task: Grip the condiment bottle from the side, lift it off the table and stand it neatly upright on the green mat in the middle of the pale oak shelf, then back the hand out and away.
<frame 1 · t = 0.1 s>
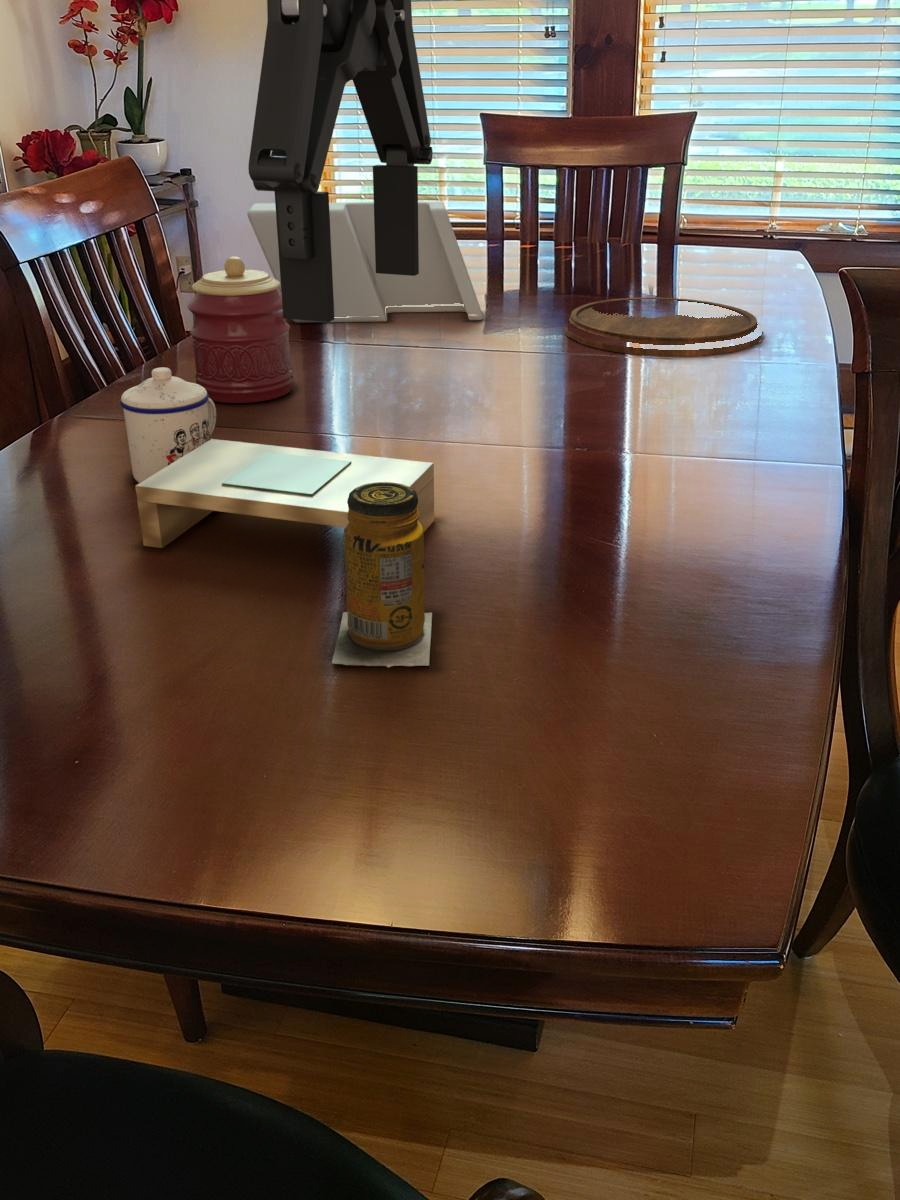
hand: (357, 295, 64), 28 cm above the table, tool pointing down, fingers open, 13 cm apart
condiment: (384, 642, 84), on the table
oak shelf: (292, 532, 103), on the table
bracket: (370, 317, 187), on the table
kitchen canister: (246, 392, 146), on the table
cutting board: (661, 333, 176), on the table
teacup with lid: (183, 472, 119), on the table
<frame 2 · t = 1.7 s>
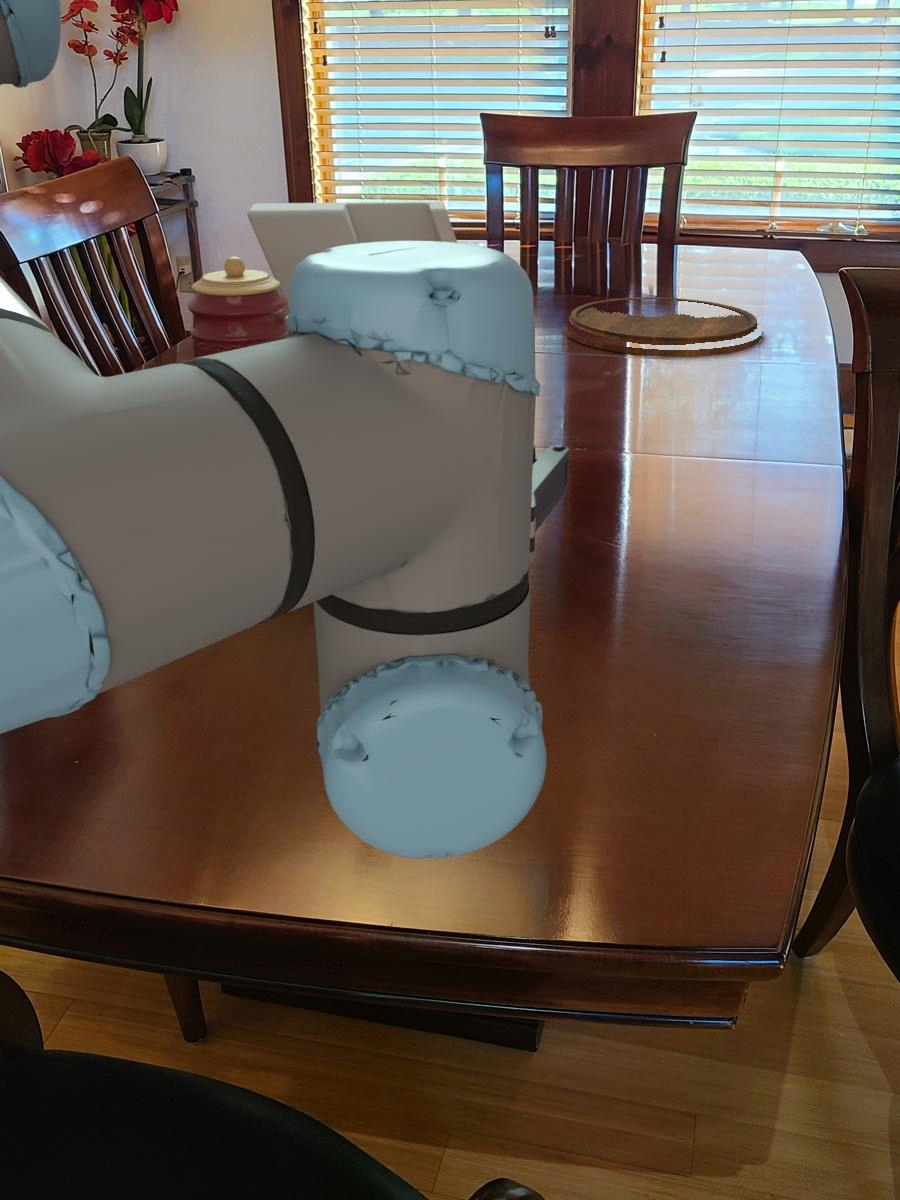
hand: (381, 432, 67), 20 cm above the table, tool horizontal, fingers open, 13 cm apart
nothing on the table moved.
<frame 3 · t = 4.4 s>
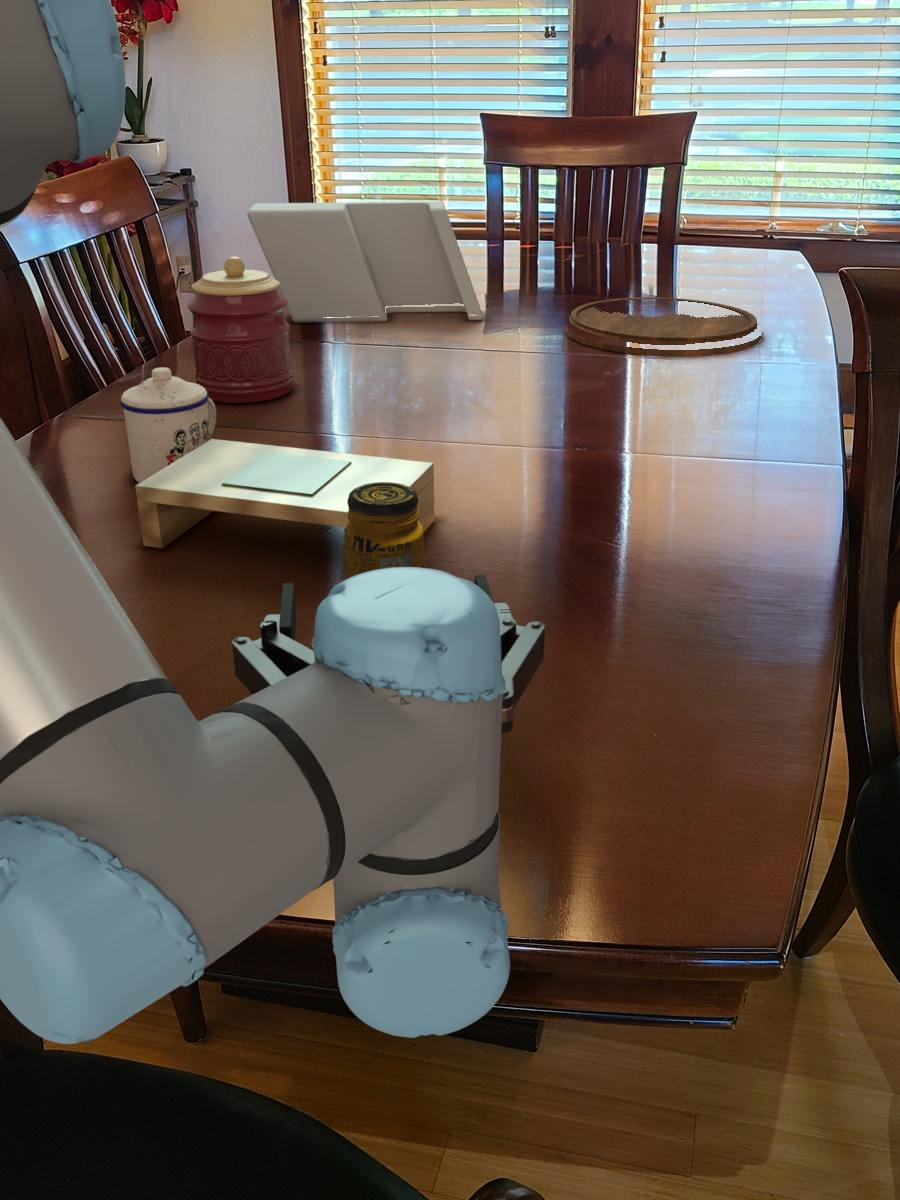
hand: (385, 595, 77), 6 cm above the table, tool horizontal, fingers open, 13 cm apart
nothing on the table moved.
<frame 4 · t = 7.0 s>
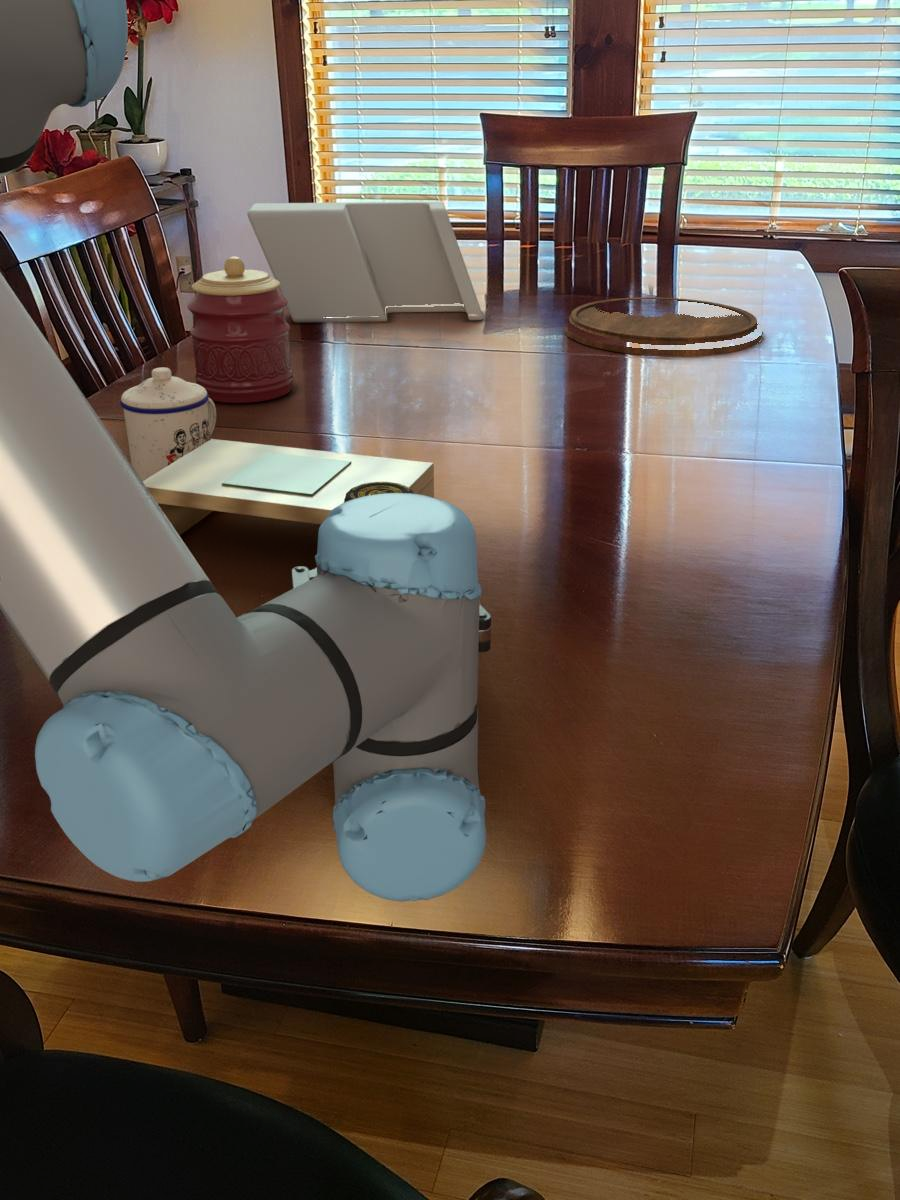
hand: (379, 537, 86), 7 cm above the table, tool horizontal, fingers closed on condiment, 6 cm apart
condiment: (383, 641, 84), on the table, touching gripper
everything else where it was.
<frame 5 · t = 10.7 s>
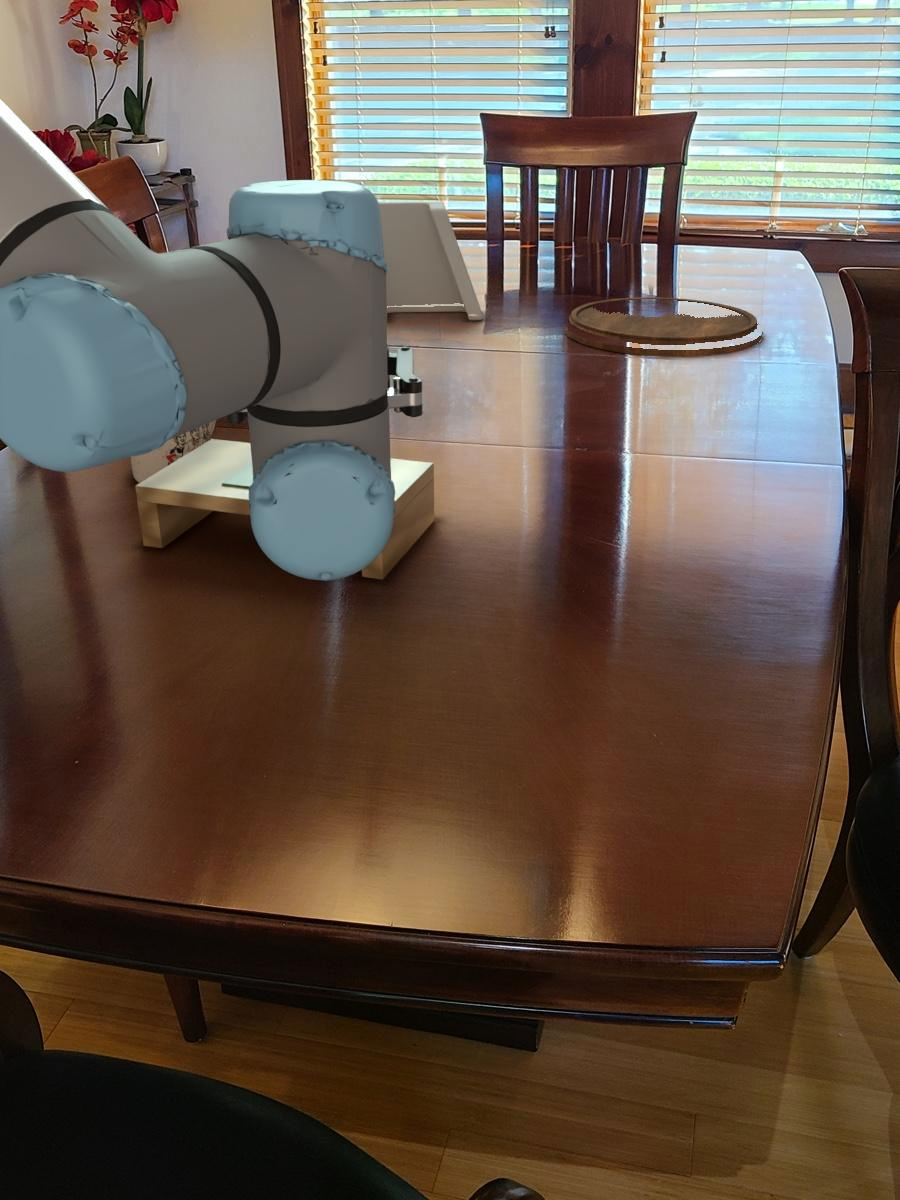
hand: (326, 342, 89), 20 cm above the table, tool horizontal, fingers closed on condiment, 6 cm apart
condiment: (328, 440, 87), point 13 cm above the table, touching gripper
everything else where it was.
when the fingers open (13 cm above the table, at t = 14.6 s): condiment stays where it is, resting on oak shelf.
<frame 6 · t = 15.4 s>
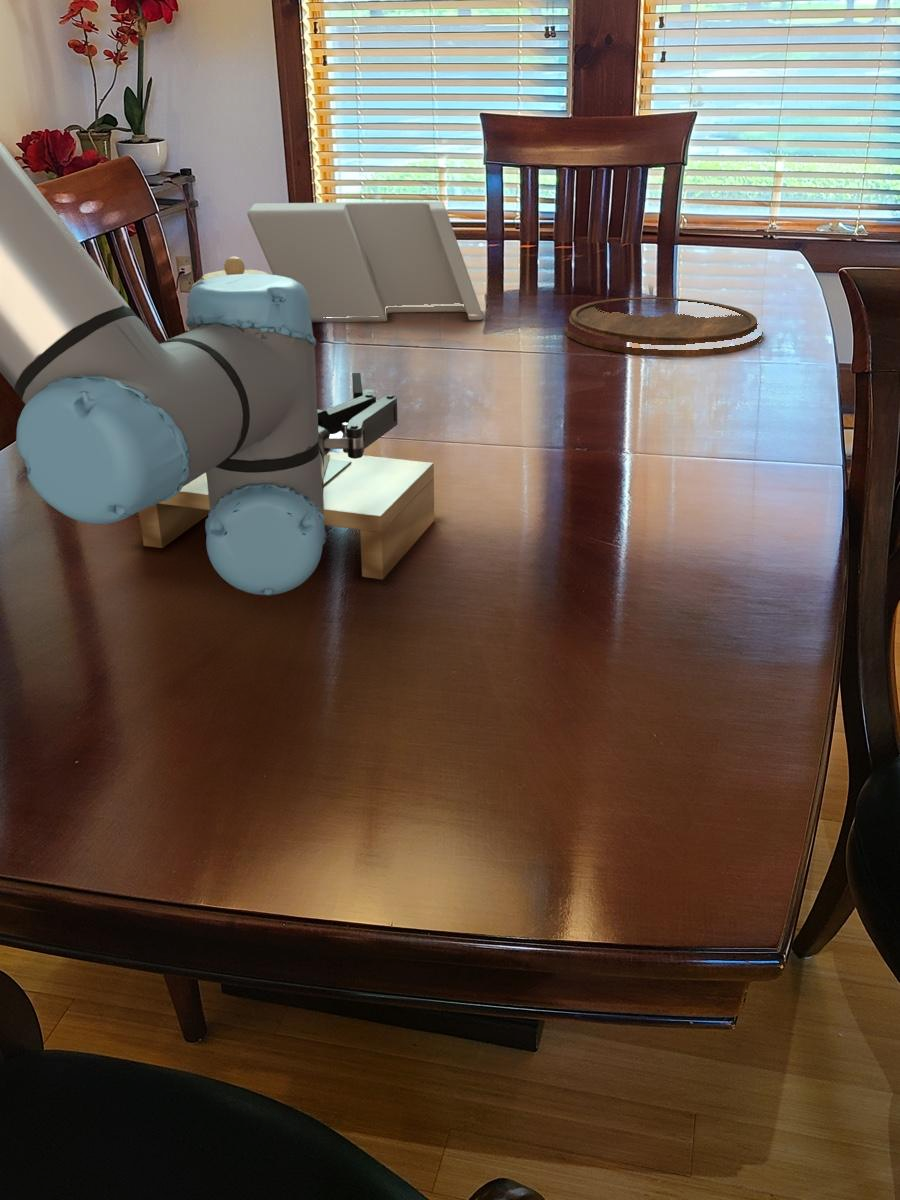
hand: (283, 389, 100), 13 cm above the table, tool horizontal, fingers open, 13 cm apart
condiment: (286, 473, 100), point 6 cm above the table, touching oak shelf
everything else where it was.
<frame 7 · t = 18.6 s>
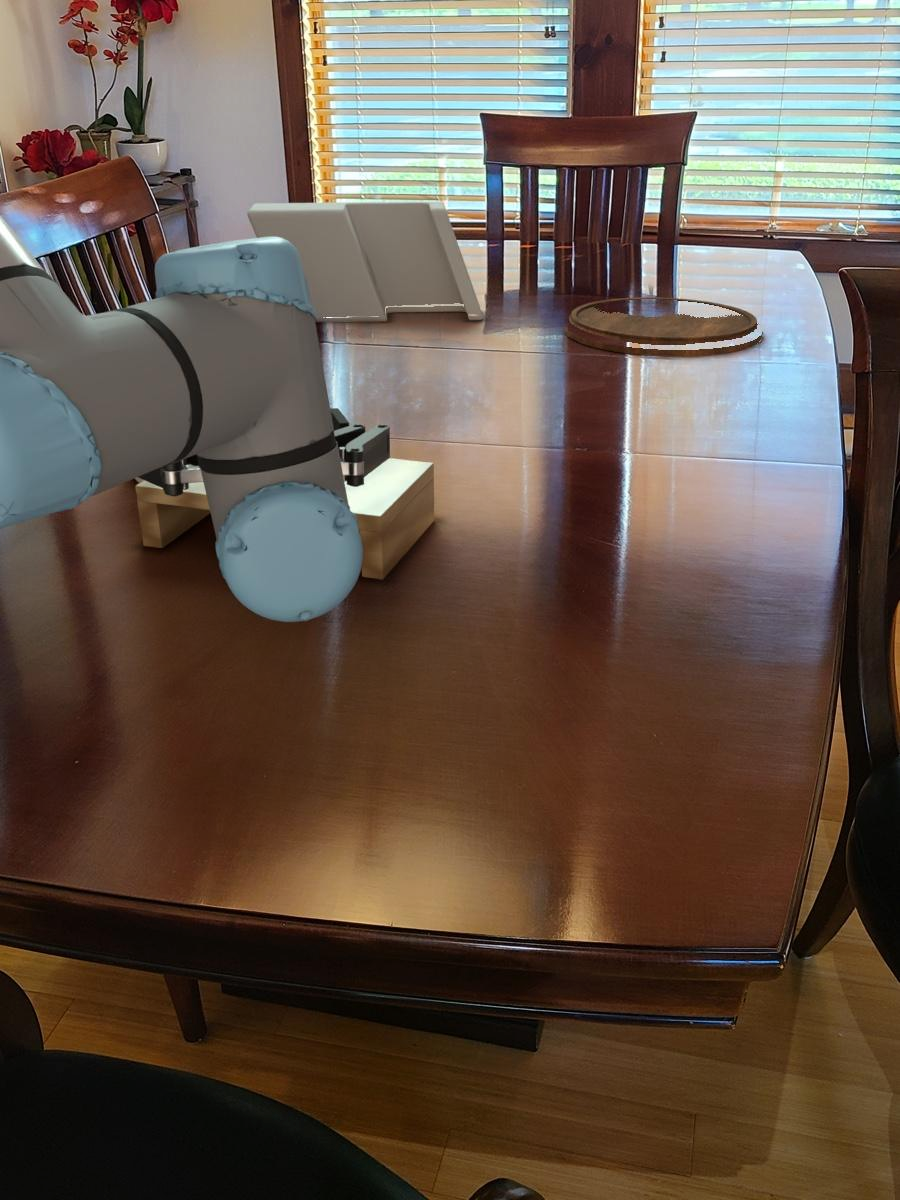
hand: (251, 427, 89), 14 cm above the table, tool horizontal, fingers open, 13 cm apart
nothing on the table moved.
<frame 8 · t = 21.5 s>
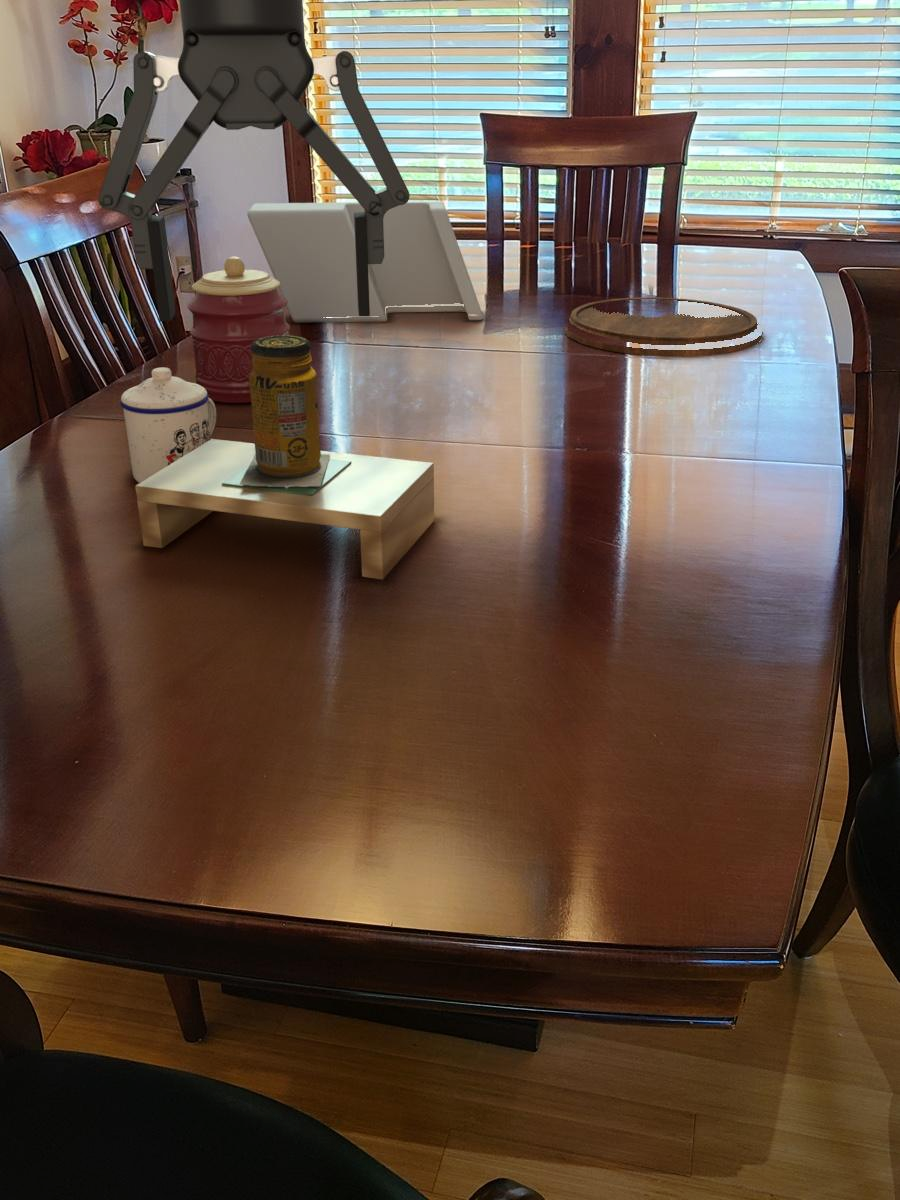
hand: (266, 315, 75), 25 cm above the table, tool pointing down, fingers open, 13 cm apart
nothing on the table moved.
at the end: condiment inside the target area on the oak shelf (0.1 cm from its centre), point 6.0 cm above the oak shelf's base; condiment tilted 0°; the gripper is holding nothing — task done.
